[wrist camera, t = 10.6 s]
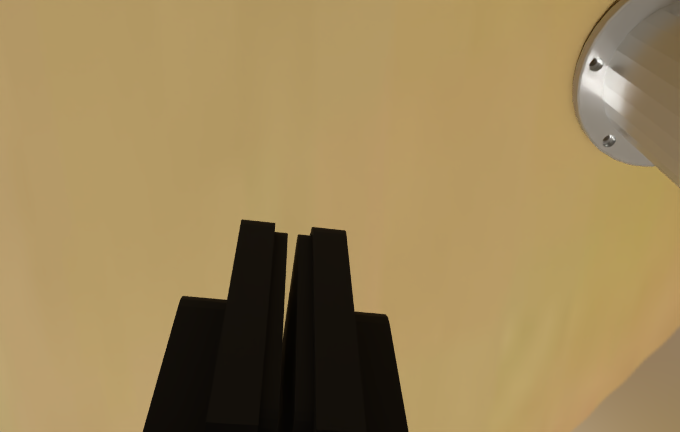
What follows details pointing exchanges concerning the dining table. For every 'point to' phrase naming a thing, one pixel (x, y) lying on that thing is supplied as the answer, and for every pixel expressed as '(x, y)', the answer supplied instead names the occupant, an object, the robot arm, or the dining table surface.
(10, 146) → the dining table surface
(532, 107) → the dining table surface
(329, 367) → the robot arm
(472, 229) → the dining table surface
